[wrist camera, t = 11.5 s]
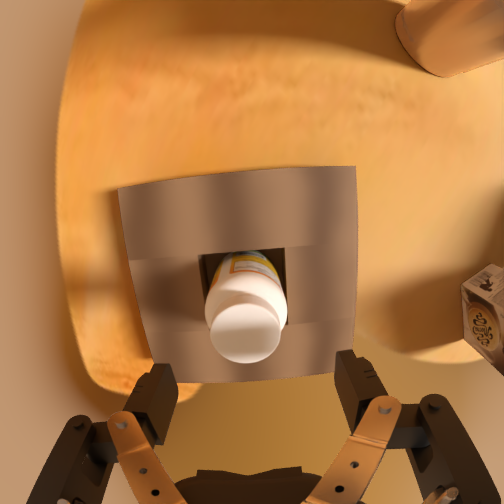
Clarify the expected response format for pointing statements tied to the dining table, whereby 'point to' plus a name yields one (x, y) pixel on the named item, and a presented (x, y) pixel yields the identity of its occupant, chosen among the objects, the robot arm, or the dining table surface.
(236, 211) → the socket board
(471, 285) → the coffee box
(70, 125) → the dining table surface
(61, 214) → the dining table surface
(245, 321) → the supplement bottle
